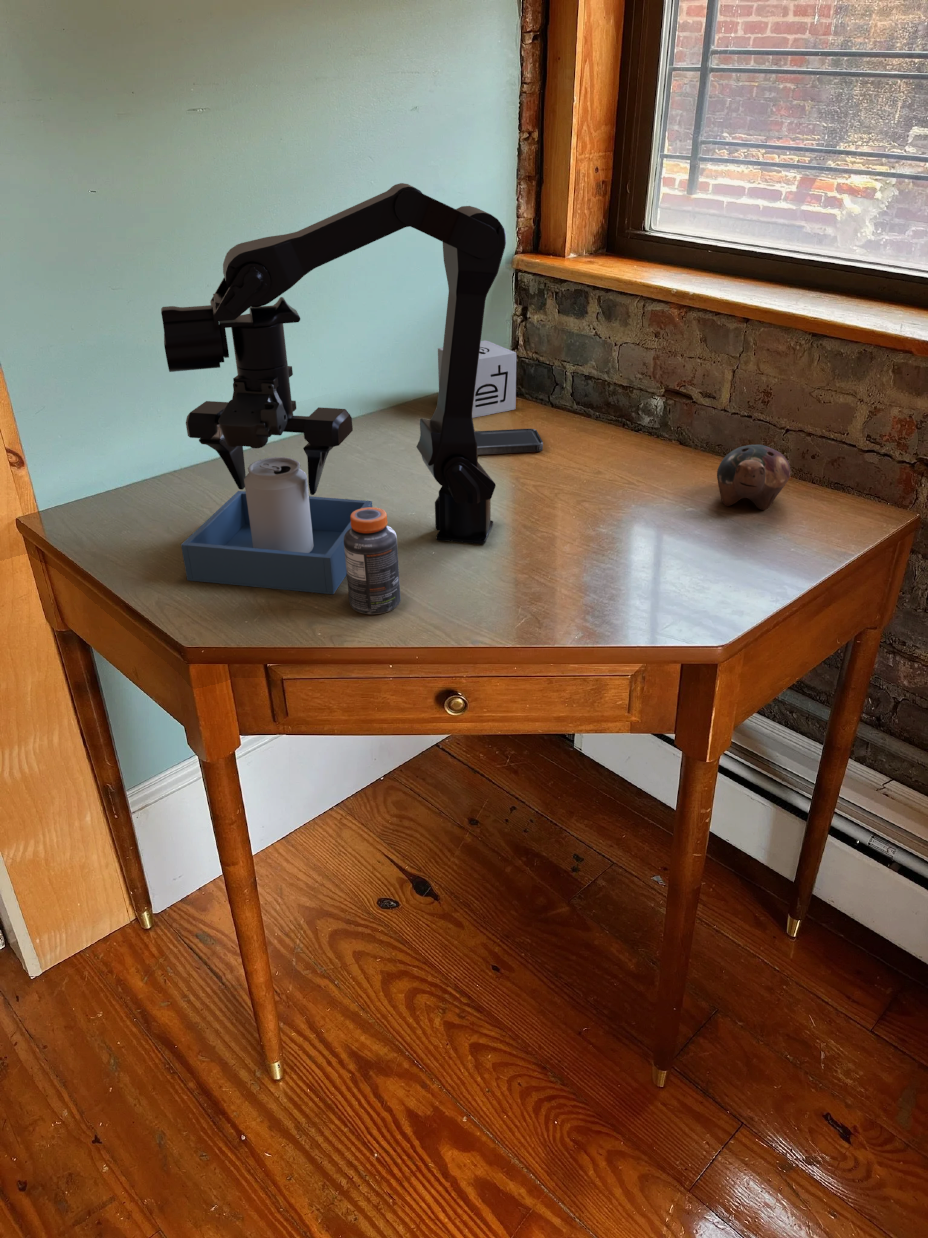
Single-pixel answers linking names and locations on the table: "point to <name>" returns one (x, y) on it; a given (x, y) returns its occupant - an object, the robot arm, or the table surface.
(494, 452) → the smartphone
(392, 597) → the pill bottle
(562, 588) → the table surface
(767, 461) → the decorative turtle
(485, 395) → the icon cube
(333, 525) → the tub
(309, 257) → the robot arm
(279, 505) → the can
